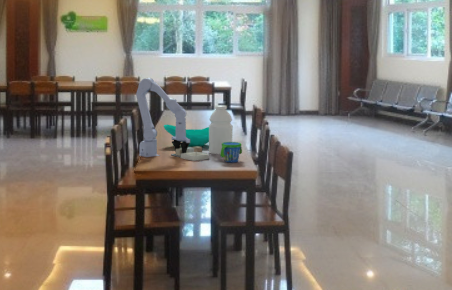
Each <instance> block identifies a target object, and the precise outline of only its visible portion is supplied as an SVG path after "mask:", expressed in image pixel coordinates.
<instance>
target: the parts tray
mask: <svg viewBox="0 0 452 290" xmlns="http://www.w3.org/2000/svg"><path fill="white" fill-rule="evenodd" d="M202 153H205V154H208V153H207V152H203V151H202ZM170 156H172V157H177V158H181V156H179V155H176V153H171V154H170Z"/></svg>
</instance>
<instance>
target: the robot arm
mask: <svg viewBox="0 0 452 290" xmlns="http://www.w3.org/2000/svg"><path fill="white" fill-rule="evenodd" d="M149 91H151V92H155V93H156V94H157V95H158V96H159V97H160V99H162V100H163V101H164V102H165V106H166V108H167V109H168V110H170V112H171V113H172V114H174V117H175V126H176V137H175V136H171V144H172V146H173V148H174V152H175V153H176V149H179V148H182V153H186V151H187V148H188V147H190V146H189V144H190V139H188V138H187V137H186V129H187V122H186V120H187V119H186V118H187V117H186V116H187V111H186V109H185V108H184V107H183V106H182V105H180V104H179V103H178V100H177V99H174V98H171V97H170V96H169V95H168V94H167V93H166V91H164V90H163V88H162V87H161V86H160V85H159V83H157V82H156V81H154V79H153V78H152V77H145V78H143V79H141V81H140V82H139V83H138V87H137V91H136V94H135V95H136V96H135V97H136V99H137V104H138V108H139V112H140V116H141V120H142V124H143V128H142V129H143V134H142V135H143V140H142V141H140V143H139V154H138V156H140V157H144V158H149V157H151V158H152V157H157V156H159V157H160V156H161V155H160V154H158V144H157V143H158V139H157V136H158V131H157V129H156V128H155V125H154V124H153V121H152V117H151V113H150V109H149V105H148V100H147V97H146V95H147V94H148V93H149ZM181 141H182V142H181Z"/></svg>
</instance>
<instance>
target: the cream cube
mask: <svg viewBox="0 0 452 290" xmlns="http://www.w3.org/2000/svg"><path fill="white" fill-rule="evenodd" d="M175 154H176V155H179V156H181V154H182V148H181V147H180V148H179V149H176V152H175Z"/></svg>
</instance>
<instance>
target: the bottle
mask: <svg viewBox="0 0 452 290" xmlns="http://www.w3.org/2000/svg"><path fill="white" fill-rule="evenodd" d="M227 108H228V107H227V105H220V104H219V105H215V107H214V109H215V110H214V111H213V112H212V113H211V115H210V118H209V121H210V124H209V125H208V127H209V142H208V154H210V155H220V154H221V149H222V143H224V142H233V128H234V127H233V125H232V124H231V122H233V118H232V115H231V114H230V113H229V111H228V110H227Z"/></svg>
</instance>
